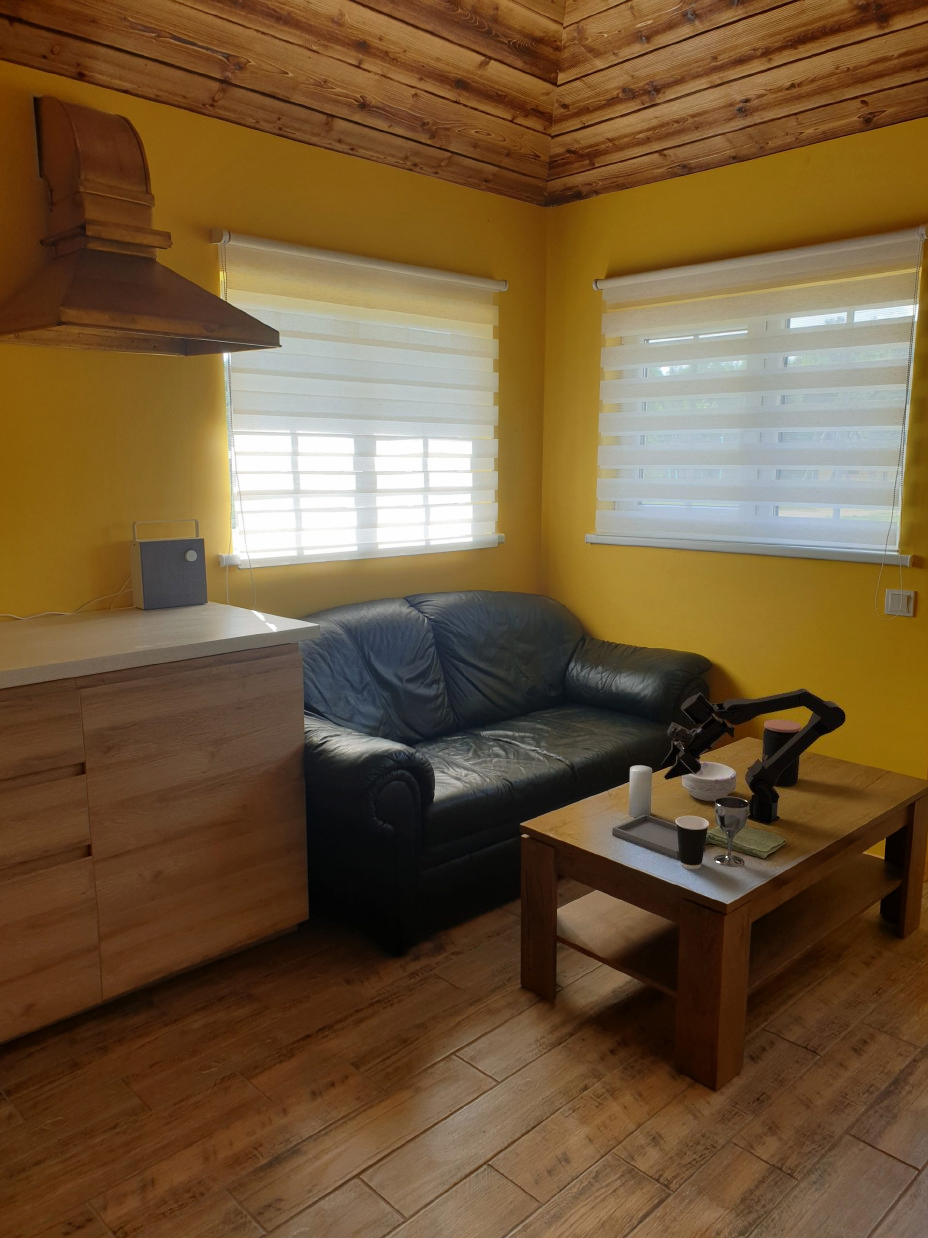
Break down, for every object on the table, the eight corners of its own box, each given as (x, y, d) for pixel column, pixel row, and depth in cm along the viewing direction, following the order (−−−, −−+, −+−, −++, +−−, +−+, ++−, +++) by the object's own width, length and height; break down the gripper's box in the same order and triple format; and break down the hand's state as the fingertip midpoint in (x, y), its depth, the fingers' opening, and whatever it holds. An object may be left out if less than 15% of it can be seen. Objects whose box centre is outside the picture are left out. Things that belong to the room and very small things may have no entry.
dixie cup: (666, 862, 225) (668, 819, 223) (691, 855, 229) (693, 813, 227) (689, 874, 218) (691, 830, 216) (714, 867, 222) (716, 824, 220)
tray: (708, 843, 236) (709, 836, 235) (676, 859, 226) (677, 851, 226) (644, 820, 250) (645, 814, 250) (612, 835, 241) (612, 827, 241)
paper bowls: (727, 809, 259) (729, 782, 257) (674, 799, 266) (675, 773, 265) (740, 792, 272) (742, 766, 270) (689, 783, 279) (691, 758, 278)
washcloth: (766, 863, 225) (766, 850, 225) (700, 843, 237) (700, 831, 237) (788, 846, 235) (788, 834, 235) (723, 828, 247) (724, 816, 246)
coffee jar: (767, 773, 288) (770, 717, 284) (802, 780, 281) (805, 723, 278) (755, 783, 279) (759, 725, 276) (791, 790, 273) (795, 731, 270)
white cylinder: (655, 814, 255) (656, 769, 253) (641, 820, 251) (643, 774, 249) (637, 808, 259) (638, 764, 257) (624, 813, 255) (625, 768, 253)
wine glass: (747, 868, 221) (750, 809, 219) (713, 866, 223) (716, 807, 220) (744, 855, 229) (747, 797, 226) (711, 852, 230) (714, 795, 228)
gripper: (682, 705, 258) (640, 741, 261) (690, 724, 240) (645, 763, 243) (709, 733, 258) (667, 769, 262) (719, 754, 240) (674, 792, 243)
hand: (663, 772), depth 252 cm, fingers open, 9 cm apart
